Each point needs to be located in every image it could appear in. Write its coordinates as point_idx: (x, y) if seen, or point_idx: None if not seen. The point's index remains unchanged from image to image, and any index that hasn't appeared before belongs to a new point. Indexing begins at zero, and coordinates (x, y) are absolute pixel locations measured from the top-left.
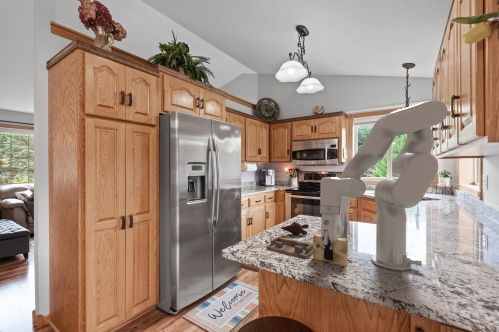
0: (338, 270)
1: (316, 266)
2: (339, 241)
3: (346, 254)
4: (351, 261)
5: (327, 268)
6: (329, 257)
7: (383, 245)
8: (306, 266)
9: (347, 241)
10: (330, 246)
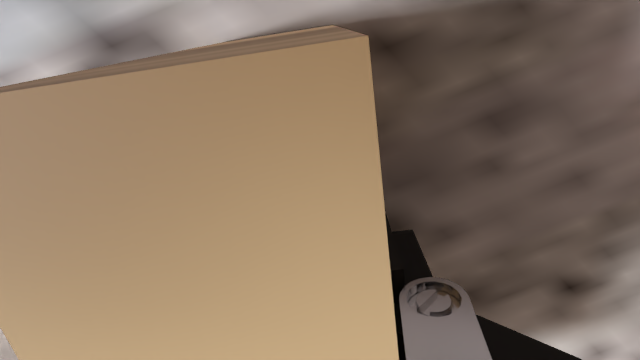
0: (521, 42)
1: (553, 259)
2: (391, 295)
3: (271, 36)
4: (106, 29)
5: (538, 160)
6: (411, 234)
7: None
8: (609, 318)
9: (21, 85)
10: (482, 344)
